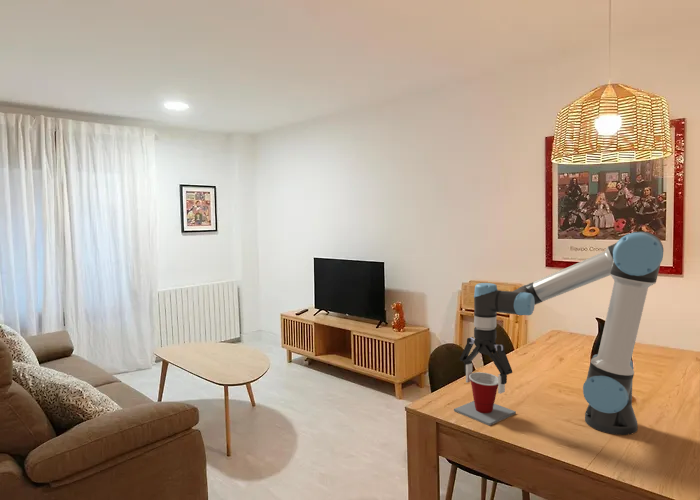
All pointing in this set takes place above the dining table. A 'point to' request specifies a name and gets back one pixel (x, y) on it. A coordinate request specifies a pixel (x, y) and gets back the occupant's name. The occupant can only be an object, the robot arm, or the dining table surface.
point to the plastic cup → (484, 390)
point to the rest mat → (486, 418)
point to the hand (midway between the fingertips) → (484, 386)
